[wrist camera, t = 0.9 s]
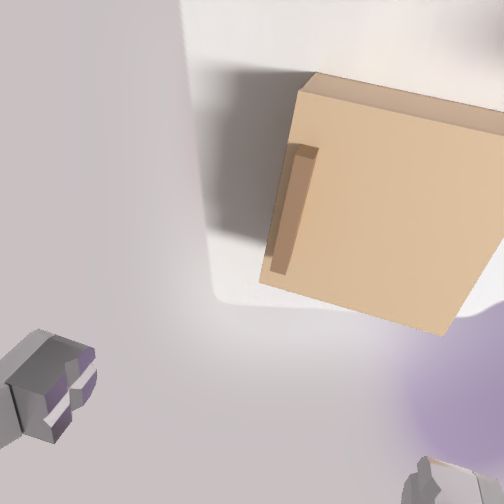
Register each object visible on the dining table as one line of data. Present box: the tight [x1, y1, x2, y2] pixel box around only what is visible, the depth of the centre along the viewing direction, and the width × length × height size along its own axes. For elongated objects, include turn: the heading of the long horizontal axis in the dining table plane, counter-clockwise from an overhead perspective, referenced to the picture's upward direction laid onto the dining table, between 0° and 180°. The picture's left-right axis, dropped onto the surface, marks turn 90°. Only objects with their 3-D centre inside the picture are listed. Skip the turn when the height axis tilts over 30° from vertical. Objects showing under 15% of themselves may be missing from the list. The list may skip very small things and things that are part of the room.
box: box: [302, 72, 504, 133], centre depth 42 cm, size 20×20×10 cm
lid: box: [259, 88, 504, 336], centre depth 36 cm, size 20×20×4 cm
